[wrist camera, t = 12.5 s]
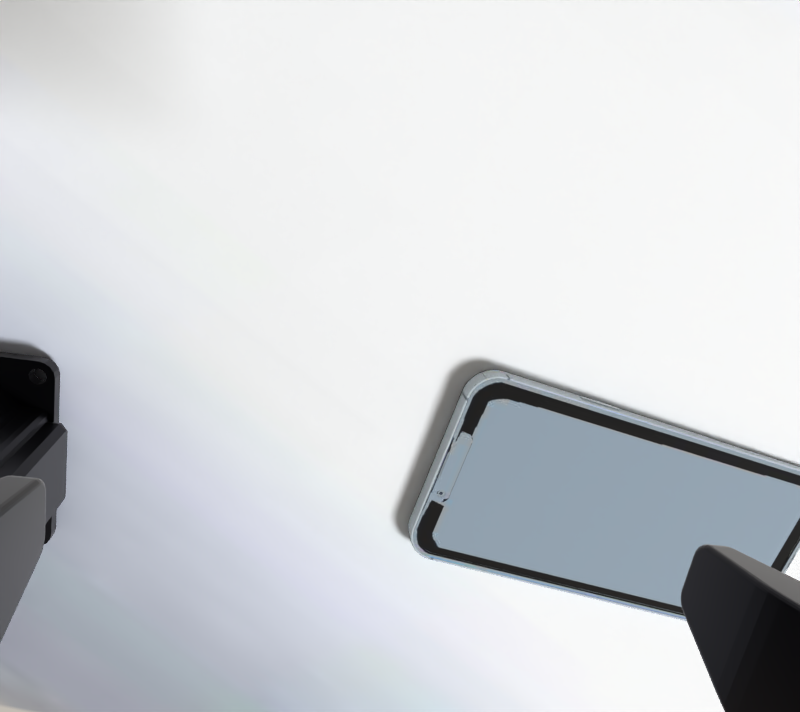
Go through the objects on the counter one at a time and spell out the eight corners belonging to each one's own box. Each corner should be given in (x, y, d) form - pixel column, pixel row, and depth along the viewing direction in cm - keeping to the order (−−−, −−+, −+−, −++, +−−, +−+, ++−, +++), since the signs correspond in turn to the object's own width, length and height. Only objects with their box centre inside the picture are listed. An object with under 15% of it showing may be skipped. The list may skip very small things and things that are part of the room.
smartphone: (746, 637, 27) (401, 554, 24) (732, 620, 28) (398, 538, 25) (840, 480, 25) (479, 366, 22) (822, 468, 26) (472, 357, 23)
